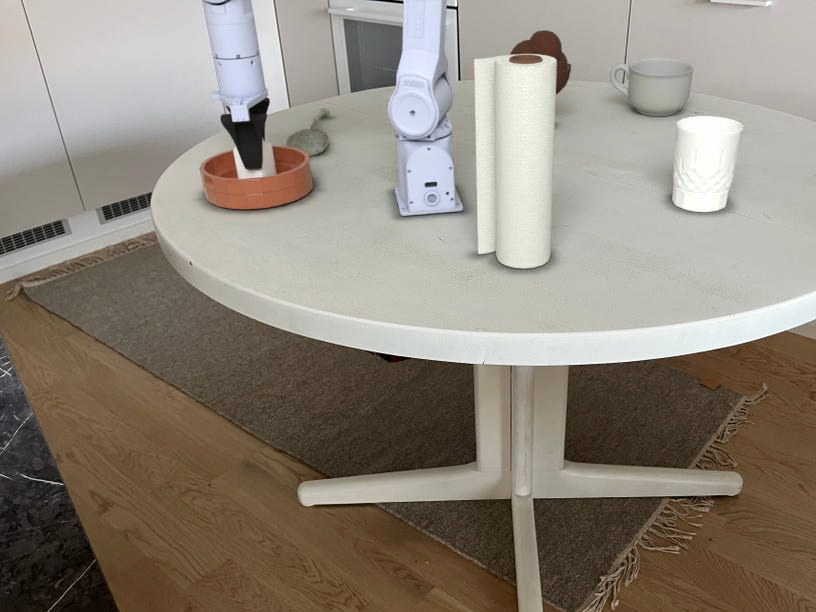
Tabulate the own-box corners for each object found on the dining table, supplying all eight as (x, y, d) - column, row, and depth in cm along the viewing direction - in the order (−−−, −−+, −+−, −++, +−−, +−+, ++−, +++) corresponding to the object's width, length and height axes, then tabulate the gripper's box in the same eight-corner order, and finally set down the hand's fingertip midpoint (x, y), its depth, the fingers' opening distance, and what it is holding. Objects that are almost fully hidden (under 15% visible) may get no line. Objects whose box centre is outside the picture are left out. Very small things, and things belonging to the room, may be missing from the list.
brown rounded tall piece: (568, 116, 136) (572, 23, 128) (568, 135, 127) (572, 36, 119) (507, 115, 137) (507, 23, 129) (502, 134, 128) (502, 36, 120)
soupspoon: (283, 161, 121) (326, 162, 121) (280, 139, 119) (324, 141, 119) (307, 116, 139) (344, 117, 139) (305, 96, 137) (343, 97, 137)
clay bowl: (313, 206, 103) (308, 175, 101) (200, 215, 101) (193, 183, 99) (313, 171, 115) (309, 142, 112) (212, 178, 113) (206, 149, 110)
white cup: (685, 217, 97) (696, 136, 92) (657, 195, 104) (665, 119, 98) (742, 210, 99) (756, 130, 94) (711, 189, 105) (722, 113, 100)
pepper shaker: (280, 185, 109) (269, 116, 104) (266, 196, 106) (253, 124, 100) (254, 183, 110) (241, 114, 105) (239, 193, 106) (225, 122, 101)
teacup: (697, 108, 139) (703, 61, 135) (675, 124, 131) (680, 74, 127) (623, 99, 145) (627, 53, 141) (598, 113, 138) (601, 65, 133)
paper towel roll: (561, 258, 88) (570, 57, 77) (523, 275, 85) (526, 67, 73) (515, 240, 93) (516, 47, 81) (477, 255, 89) (473, 56, 78)
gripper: (209, 45, 104) (229, 147, 111) (195, 69, 92) (218, 182, 99) (264, 42, 105) (280, 143, 112) (258, 65, 93) (276, 177, 100)
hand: (255, 161), depth 106 cm, fingers closed on pepper shaker, 5 cm apart
